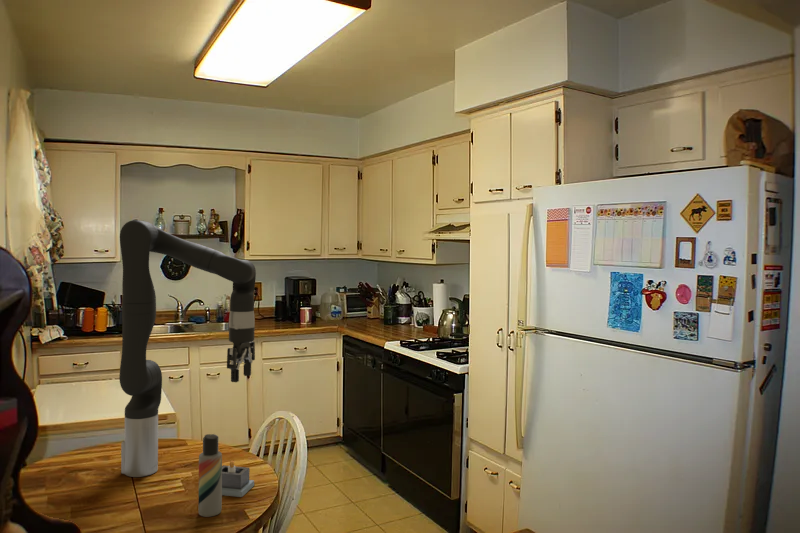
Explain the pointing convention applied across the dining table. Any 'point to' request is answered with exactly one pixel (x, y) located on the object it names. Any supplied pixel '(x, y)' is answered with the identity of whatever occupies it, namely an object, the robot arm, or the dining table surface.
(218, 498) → the lotion bottle
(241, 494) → the grey base with peg
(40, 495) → the dining table surface
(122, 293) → the robot arm
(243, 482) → the link
